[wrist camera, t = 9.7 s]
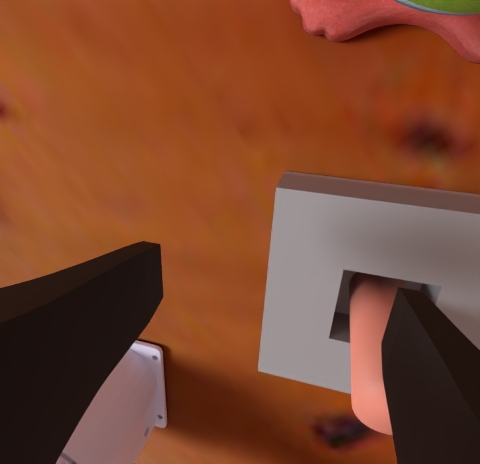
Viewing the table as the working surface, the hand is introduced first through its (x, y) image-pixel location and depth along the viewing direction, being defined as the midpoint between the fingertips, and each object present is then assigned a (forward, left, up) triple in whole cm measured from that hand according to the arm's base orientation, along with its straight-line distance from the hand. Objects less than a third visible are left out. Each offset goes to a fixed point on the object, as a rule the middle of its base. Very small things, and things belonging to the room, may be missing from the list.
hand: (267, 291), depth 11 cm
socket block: (-5, -5, -10) cm, 12 cm away
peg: (-5, -5, -9) cm, 12 cm away
